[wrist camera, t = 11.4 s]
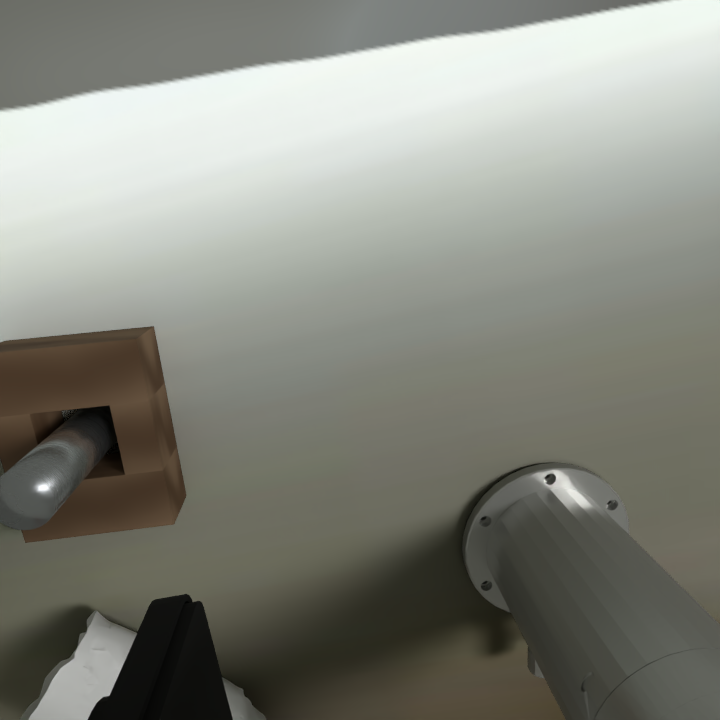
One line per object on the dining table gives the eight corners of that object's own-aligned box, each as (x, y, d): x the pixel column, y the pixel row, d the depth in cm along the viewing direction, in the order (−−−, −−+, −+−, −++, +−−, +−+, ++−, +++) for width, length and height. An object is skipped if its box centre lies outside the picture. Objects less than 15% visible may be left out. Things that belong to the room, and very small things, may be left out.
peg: (129, 440, 35) (61, 525, 25) (83, 445, 35) (-4, 533, 25) (120, 397, 34) (46, 469, 24) (72, 403, 34) (-21, 477, 24)
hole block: (186, 495, 36) (174, 524, 33) (51, 512, 36) (25, 542, 32) (153, 326, 33) (136, 338, 30) (5, 340, 32) (-30, 355, 29)
